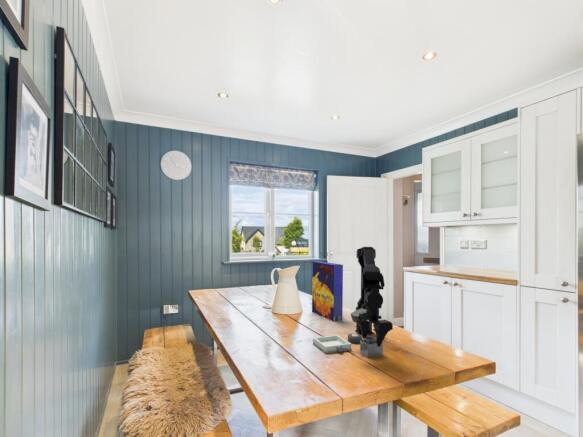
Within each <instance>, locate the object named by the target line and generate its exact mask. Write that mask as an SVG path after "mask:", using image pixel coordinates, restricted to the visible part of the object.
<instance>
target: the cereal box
mask: <svg viewBox="0 0 583 437" xmlns="http://www.w3.org/2000/svg"><path fill="white" fill-rule="evenodd" d="M311 277H312V278H311V279H312V280H311V282H312V285H311V287H312V288H311V290H312V292H311V313H313V312H314V313H313V314H315V313H316V314H315V315H317V314H318V315H317V316H320V317H322V316H323V318H324V317H325V319H328V320H329V321H331V320H332V321H331V322H339V320H340V321H343V307H344V306H343V302H344V301H343V300H344V299H343V294H344V292H343V288H344V286H343V285H344V279H343V278H344V264H342V263H341V264H340V263H335V262H328V261H320V260H314V261H312V276H311Z"/></svg>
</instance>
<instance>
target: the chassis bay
mask: <svg viewBox="0 0 583 437" xmlns="http://www.w3.org/2000/svg"><path fill="white" fill-rule="evenodd" d="M312 344H313V346H314V347H316V348H318V349H319V350H320V351H322V352H323V353H324V354H331V353H332V354H333V353H342V352H348V351H352V343H350V342H348V340H346V339H344V338H343V337H342V336H339V335H338V334H335V335H327V336H326V335H322V336H317V337H313V338H312Z"/></svg>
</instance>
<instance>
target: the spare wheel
mask: <svg viewBox="0 0 583 437" xmlns="http://www.w3.org/2000/svg"><path fill="white" fill-rule="evenodd" d="M360 340H363V336H362V334H360V333H348V335H347V341H348V342H349V343H351V344H354V345H355V344H356V345H358V344H360Z"/></svg>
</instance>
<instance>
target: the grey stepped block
mask: <svg viewBox="0 0 583 437" xmlns="http://www.w3.org/2000/svg"><path fill="white" fill-rule="evenodd" d="M359 344H360V346H359V354H361V355H363V356H364V357H366V358H374V357H381V356H383V355H384V341H383V342H382V344H381V346H380V347H378V346H377V339H376V336H367V337H366V338H365V339H362V340H360V343H359Z"/></svg>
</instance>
